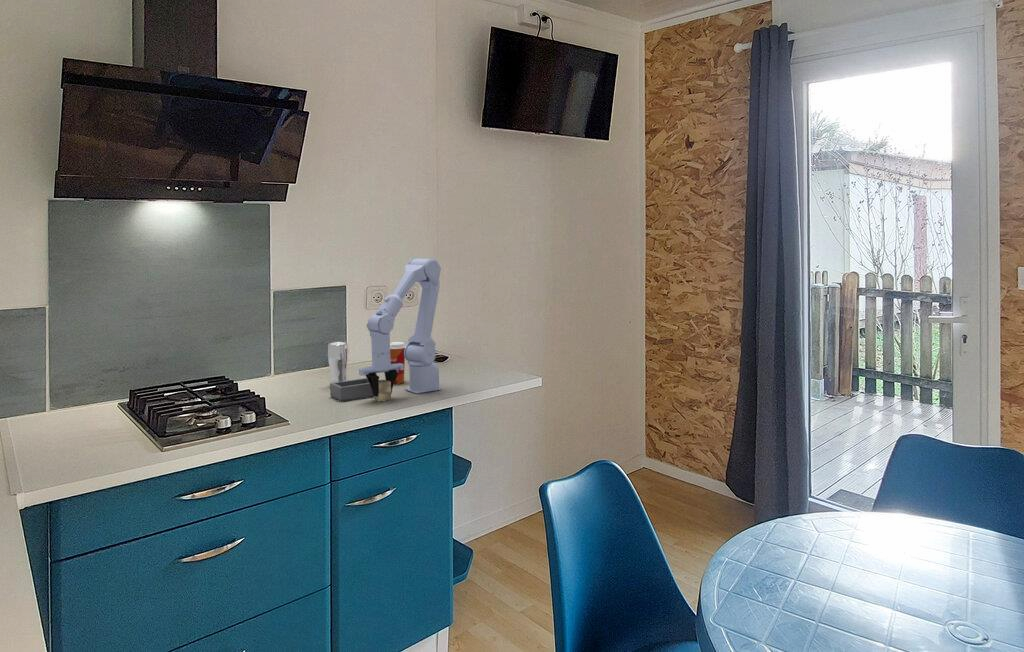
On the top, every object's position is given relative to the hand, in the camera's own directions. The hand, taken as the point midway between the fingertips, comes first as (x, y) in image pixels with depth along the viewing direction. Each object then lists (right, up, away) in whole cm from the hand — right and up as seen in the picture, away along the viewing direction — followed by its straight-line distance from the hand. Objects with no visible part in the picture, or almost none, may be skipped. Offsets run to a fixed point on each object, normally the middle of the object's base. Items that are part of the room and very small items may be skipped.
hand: (382, 394), depth 217 cm
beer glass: (-19, +1, +20) cm, 27 cm away
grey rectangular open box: (-10, -1, +5) cm, 11 cm away
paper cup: (0, +2, +25) cm, 25 cm away
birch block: (0, -2, 0) cm, 2 cm away
